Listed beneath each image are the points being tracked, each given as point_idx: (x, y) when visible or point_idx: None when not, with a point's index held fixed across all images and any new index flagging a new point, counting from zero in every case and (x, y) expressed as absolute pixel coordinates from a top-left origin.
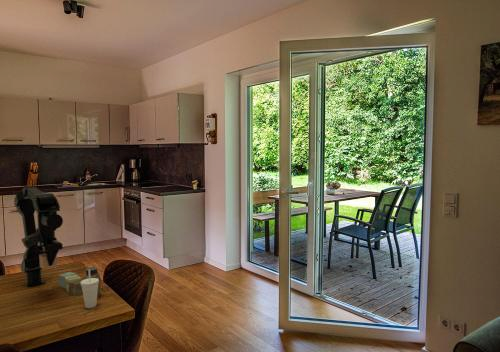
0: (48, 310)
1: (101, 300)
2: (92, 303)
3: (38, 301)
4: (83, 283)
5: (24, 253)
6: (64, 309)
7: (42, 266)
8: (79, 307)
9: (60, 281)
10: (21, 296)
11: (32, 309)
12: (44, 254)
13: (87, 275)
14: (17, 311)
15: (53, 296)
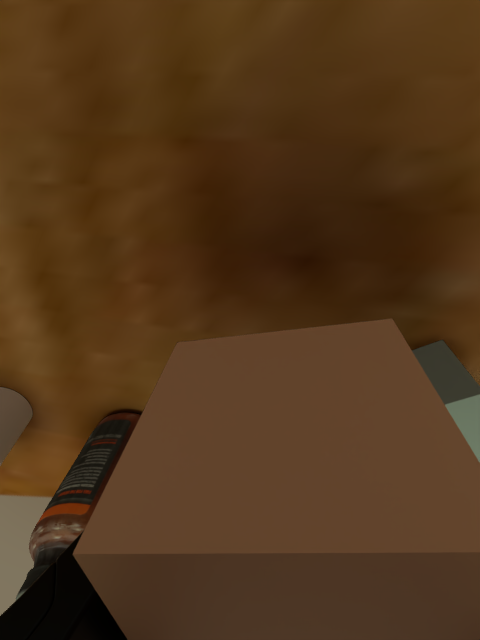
0: (21, 227)
1: (63, 451)
2: None
3: (219, 182)
4: None
5: None
6: (7, 305)
7: (215, 360)
8: (10, 366)
9: (443, 367)
10: (446, 47)
11: (77, 132)
12: (369, 626)
13: (43, 545)
14: (81, 11)
15: (259, 282)
